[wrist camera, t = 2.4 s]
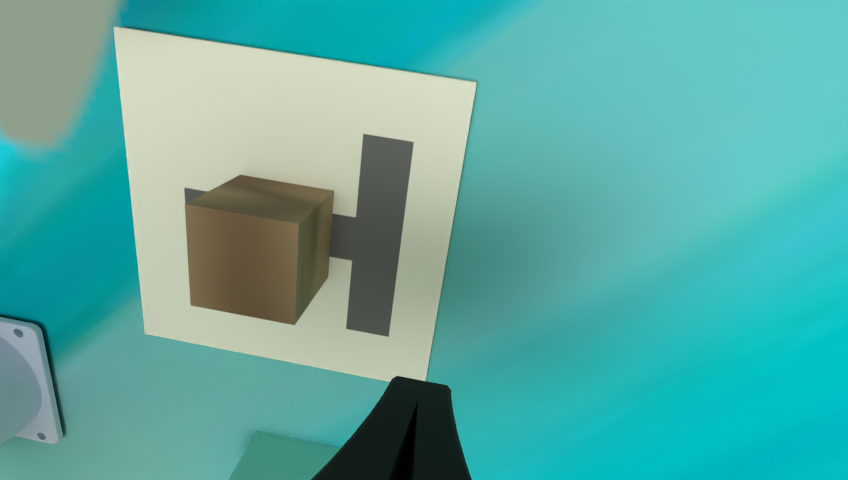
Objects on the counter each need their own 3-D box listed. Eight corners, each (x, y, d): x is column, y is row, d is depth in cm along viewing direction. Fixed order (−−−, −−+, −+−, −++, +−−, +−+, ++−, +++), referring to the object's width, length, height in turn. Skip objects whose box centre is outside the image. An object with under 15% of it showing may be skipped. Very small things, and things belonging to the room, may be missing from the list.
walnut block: (241, 261, 22) (190, 305, 18) (240, 174, 20) (184, 204, 16) (328, 276, 21) (294, 325, 18) (334, 190, 20) (298, 224, 16)
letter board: (152, 327, 24) (144, 333, 24) (124, 27, 19) (113, 26, 18) (425, 380, 24) (424, 388, 23) (477, 81, 18) (476, 82, 18)
